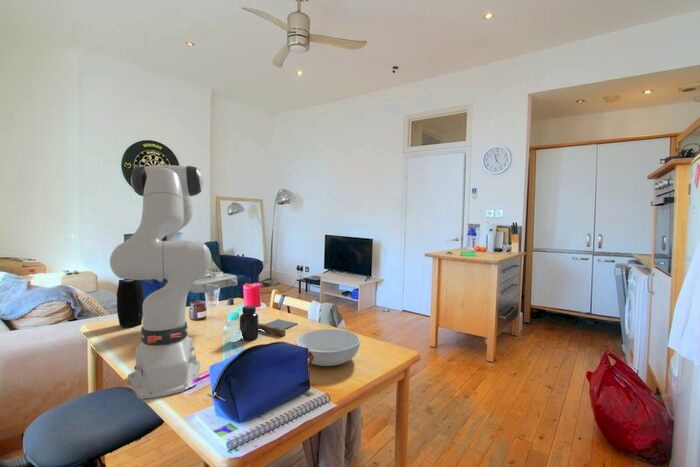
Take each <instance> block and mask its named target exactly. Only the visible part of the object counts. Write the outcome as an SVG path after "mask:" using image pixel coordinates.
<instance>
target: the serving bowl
mask: <svg viewBox="0 0 700 467" xmlns="http://www.w3.org/2000/svg"><path fill="white" fill-rule="evenodd" d="M360 344H361V339H360V336H359V335H357V334H356V333H354V332H352V331H348V330H345V329H338V328H325V329H315V330H311V331H308V332H305V333H303V334H300V335H298V337H297V338H296V340H295V346H296V345H297V346H302V347H307V348H308V349H309V352H311V353H313V356H314V359H313V361H312V363H310V364H312V365H315V366H322V367H332V366H338V365H342V364H345V363H347V362H349V361H351V360H352V359H353V358H354V357H355V356H356V354H357V353H358V351H359V349H360Z"/></svg>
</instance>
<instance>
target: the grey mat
mask: <svg viewBox="0 0 700 467" xmlns="http://www.w3.org/2000/svg"><path fill="white" fill-rule="evenodd" d="M264 324H265V325H269V326H273V327H278V328H282V329H285V331H286V330H288V329H290V328H293V327H295V326H298V323H297V322H294V321H290V320H284V319H279V318H277V319H275V320H272V321H270V322H268V323H264Z"/></svg>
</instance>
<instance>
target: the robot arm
mask: <svg viewBox="0 0 700 467" xmlns="http://www.w3.org/2000/svg"><path fill="white" fill-rule="evenodd" d="M130 184H131V187H132V188H133V191H134V192H135V194H137V195H139V196H140V197H142V214H141V220H140V224H139V226H138V228H137V229H136V231H135V232H134V233H132V234H133V235H131V236H130V237H129V238H128V239H127V240H125V241H123V242H122V243H121V244H118V245H117V246H116V247H115V248H114V249H113V250H112V252H111V255H110V257H109V266H110V268H111V271H112V272H113V274H114V275H115V277H117V278H119V279H121V280H123V279H131V280H141V281H143V280H144V281H146V280H155V281H157V282H159V283H162V284H165V285H164V286H163V287H161V288H159V289H157V290H155V291H153V292H152V293H150V294H148V295H147V296H146V297H145V298H144V302H143V317H142V327H141V328H140V338H141V342H140V344H138V346H137V347H135V365H134V371H133V372H131V373H129V374H128V375H127V380H128V382H129V385H130V387H131V389H132V390H133V392H134V394H135V396H136V398H137V399H139V400H140V399H142V400H143V399H154V398H155V399H156V398H159V397H160V398H161V397H165V396H169V395H174V394H177V393H181V392H184V390H185V388H186V387H188V386H189V385H188V383H189V382H190V381H191V380H193V379H194V378H196V377H198V378H199V374H200V368H201V367H200V366H201V362H200V360H197V354H196V353H195V354H194V353H193V352H195V346H194V345H193V338H191V337H189V336H188V330H189V329H188V328H189V327H188V322H187V321H186V309H187V308H186V307H187V300H188V295H189V292H191V293H194V294H200V293H202V294H203V293H204V294H205V293H206V294H207V293H209V292H210V291H218V290H219V289H221V288H226V287H230V286H233V287H235V286H238V276H237V275H235V274H230V273H227V272H226V273H224V272H223V271H219V270H218V271H217V270H216V271H209V268H210V267H211V263H212V253H211V250H210V249H209V247H208V246H207V244H205V243H204V242H199V241H192V240H173V238H174V237H175V236H177V234H178V233H179V232H180V231H181V230H182V229H184V228H185V227H186V226H187V225H188V224H189V223H190V222H191V220H192V218H193V214H194V212H193V203H192V197H194V196H198V195H199V194H200V193H201V192H202V190H203V187H204V177H203V174H202V173H201V171H200V169H199V168H198V167H196V166H191V165H187V166H184V165H175V164H174V165H170V164H156V165H155V164H154V165H141V166H140V165H139V166H136V167H135V168H134V169H133V170H132V172H131V177H130ZM185 391H186V390H185Z"/></svg>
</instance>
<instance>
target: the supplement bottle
mask: <svg viewBox="0 0 700 467" xmlns="http://www.w3.org/2000/svg"><path fill="white" fill-rule="evenodd" d="M256 308H257V307H256V306H255V305H244V306H242V312H241V313H242V314H240V315H239V331H240V330H241V332H242V336H243V339H244V340H243V341H245V342H248V341H249V342H250V341H254V340H257V339H258V338H259V331H258V323H259V314H257V312H256V310H257V309H256Z"/></svg>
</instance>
